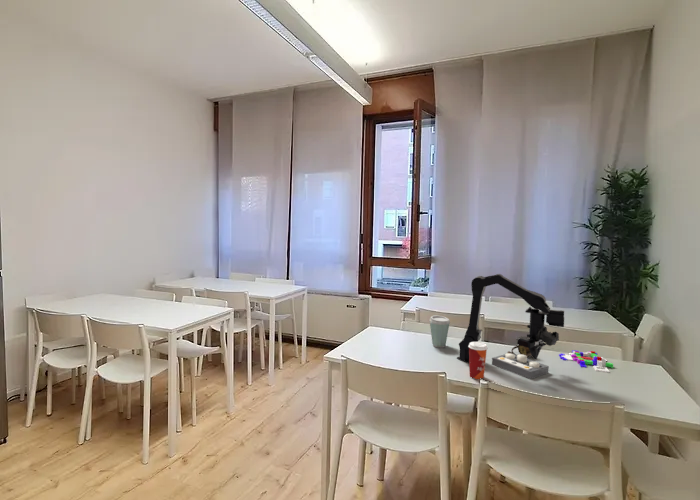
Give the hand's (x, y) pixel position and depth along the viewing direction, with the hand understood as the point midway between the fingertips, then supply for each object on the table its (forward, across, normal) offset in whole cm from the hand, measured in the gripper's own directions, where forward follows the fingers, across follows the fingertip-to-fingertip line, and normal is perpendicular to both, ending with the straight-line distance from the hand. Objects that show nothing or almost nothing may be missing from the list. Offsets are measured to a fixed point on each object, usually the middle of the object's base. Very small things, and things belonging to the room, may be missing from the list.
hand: (534, 359), depth 170 cm
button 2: (+5, 0, 0) cm, 5 cm away
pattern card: (+3, -6, +6) cm, 9 cm away
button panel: (+6, -2, +6) cm, 9 cm away
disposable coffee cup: (+6, -11, +47) cm, 48 cm away
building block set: (+7, +34, -3) cm, 35 cm away
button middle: (+4, 0, +6) cm, 7 cm away
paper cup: (+6, -26, +10) cm, 28 cm away
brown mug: (+6, +13, +16) cm, 21 cm away
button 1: (+5, 0, +12) cm, 13 cm away
